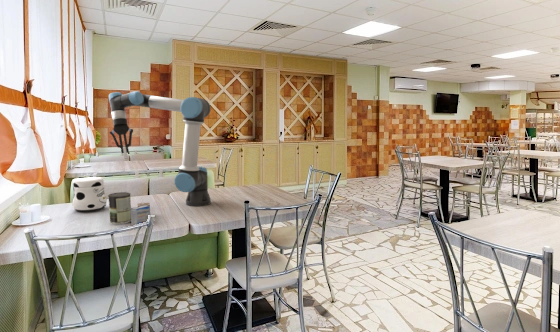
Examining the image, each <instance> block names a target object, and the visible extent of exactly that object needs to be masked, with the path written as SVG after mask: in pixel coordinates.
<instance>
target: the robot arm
mask: <svg viewBox="0 0 560 332" xmlns="http://www.w3.org/2000/svg"><path fill="white" fill-rule="evenodd" d="M108 102H109V106H110V112H111V119H112V123H113V129H112V130H111V131H109V134H110V135H111V136H112V138H113V140H114V142H115V144H116V147H117V148H119V149H120V151H121V152H120V153H121V154H123V155H124V156H123V157H124V159H125V160H129V158H128V153H129V152H130V151H129V147H131V146H132V138H133V137H132V136H133V133H134V129H133V128H130V127H129V125H128V124H129V123H128V120H127V113H126V108H129V107H144V108H149V109H156V110H163V111H170V112H171V111H172V112H179V113H181V114H182V121H183V122H184V124H185V126H184V134H183V146H182V147H183V148H182V157H181V158H182V159H181V165H180V166H179V167H178V174H177V175H176V176H174V177H175V178H174V185H175V188H177V190H179V191H180V192H182V193H187V196H186V199H185V205H186V206H190V207H202V206H203V207H204V206H207V205H210V204H211V203H212V202H211V197H210V193H209V192H208V190H209V189H208V186H209V185H208V169H207V167H205V166H204V167H203V166H201V167H200V166H198V161H199V160H198V158H199V149H200V139H201V138H200V137H201V129H202V125H203V124H204V121H205V118H207V117H208V116H209V115H210V113H211V104H210V103H209V102H208V100H206V99H204V98H201V97H197V96H196V97H195V96H190V97H186V98H184V99H183V98H182V99H181V98H173V97H172V98H171V97H165V96H164V97H163V96H157V95H150V94H144V93H142V92H140V91H138V90H136V91H131V92H128V93H124V94H123V93H121V92H118V91H115V92H111V93H109V94H108ZM128 132H129V134H128V138H127V133H128ZM115 134H117V135H118V139H119V141H118V140H117V137H116V136H115ZM122 136H123V137H122ZM122 138H123V139H122ZM123 140H124V141H123ZM123 142H124V145H123Z"/></svg>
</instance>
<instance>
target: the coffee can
mask: <svg viewBox="0 0 560 332" xmlns="http://www.w3.org/2000/svg"><path fill="white" fill-rule="evenodd" d="M107 196H108V197H107V198H108V207H109V208H108V209H109V223H110V224H113V225H120V224H126V223H129V222H131V208H132V206H131V202H132V201H131V193H130V192H127V191H125V192H124V191H123V192H122V191H121V192H113V193H110V194H108V195H107Z"/></svg>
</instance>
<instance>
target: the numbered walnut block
mask: <svg viewBox="0 0 560 332" xmlns="http://www.w3.org/2000/svg"><path fill="white" fill-rule="evenodd" d="M143 205H147V206H150V207H151V204H150V202H140V203H137V207H139V206H143Z"/></svg>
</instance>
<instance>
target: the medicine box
mask: <svg viewBox="0 0 560 332" xmlns="http://www.w3.org/2000/svg"><path fill="white" fill-rule="evenodd" d="M148 215H150V216H151V205H150V206H147V205H143V206H139V207H138V206H135V207H131V221H130V222H131V225H132V226H134V225H135V224H139V223H143V222H146V221H147V219H148Z"/></svg>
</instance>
